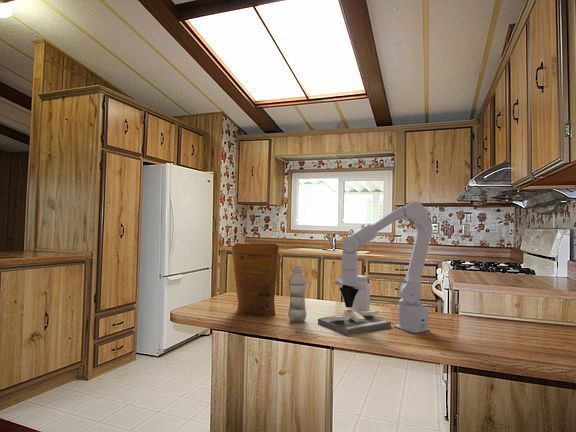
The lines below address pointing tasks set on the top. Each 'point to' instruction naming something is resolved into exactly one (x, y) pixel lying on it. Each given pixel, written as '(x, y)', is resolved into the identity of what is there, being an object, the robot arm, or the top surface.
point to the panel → (354, 324)
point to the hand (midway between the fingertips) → (348, 307)
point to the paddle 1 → (339, 317)
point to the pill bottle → (362, 296)
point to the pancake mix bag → (255, 277)
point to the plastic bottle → (297, 295)
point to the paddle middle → (354, 315)
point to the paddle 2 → (368, 313)
